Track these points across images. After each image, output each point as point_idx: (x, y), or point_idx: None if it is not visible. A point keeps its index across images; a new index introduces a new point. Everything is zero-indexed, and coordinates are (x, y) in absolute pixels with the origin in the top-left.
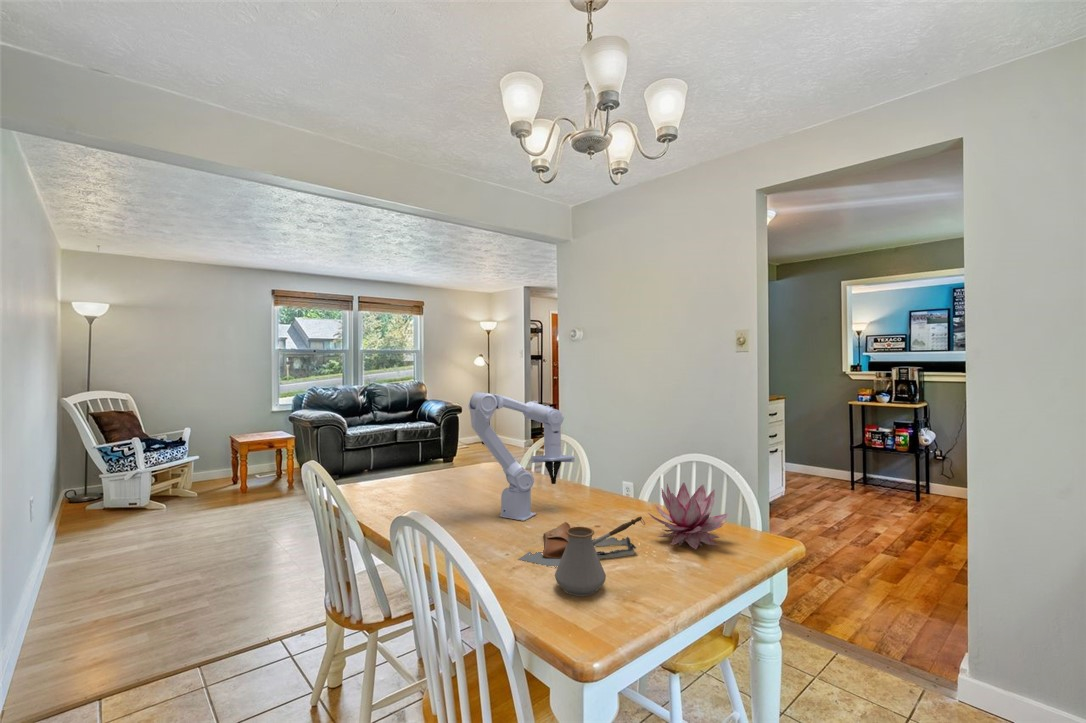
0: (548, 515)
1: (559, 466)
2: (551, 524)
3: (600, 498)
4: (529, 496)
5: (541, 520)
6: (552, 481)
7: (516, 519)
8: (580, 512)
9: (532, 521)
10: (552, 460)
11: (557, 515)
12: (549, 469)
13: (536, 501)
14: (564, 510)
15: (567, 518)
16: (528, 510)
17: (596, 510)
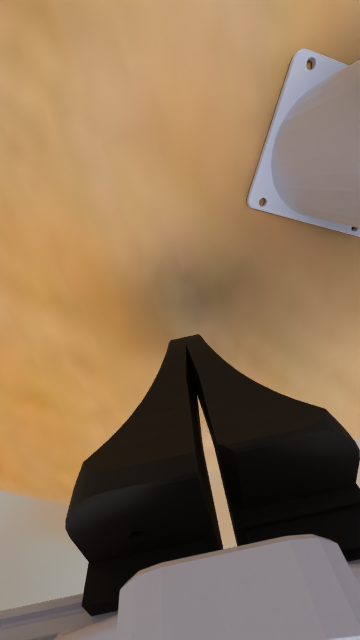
0: (183, 212)
1: (84, 463)
2: (121, 35)
3: (56, 460)
4: (339, 116)
5: (198, 108)
6: (193, 341)
7: (341, 66)
8: (55, 297)
9: (244, 71)
10: (221, 565)
11: (141, 224)
12: (249, 401)
13: (272, 378)
14: (133, 305)
15: (76, 188)
16: (294, 121)
17: (2, 340)
